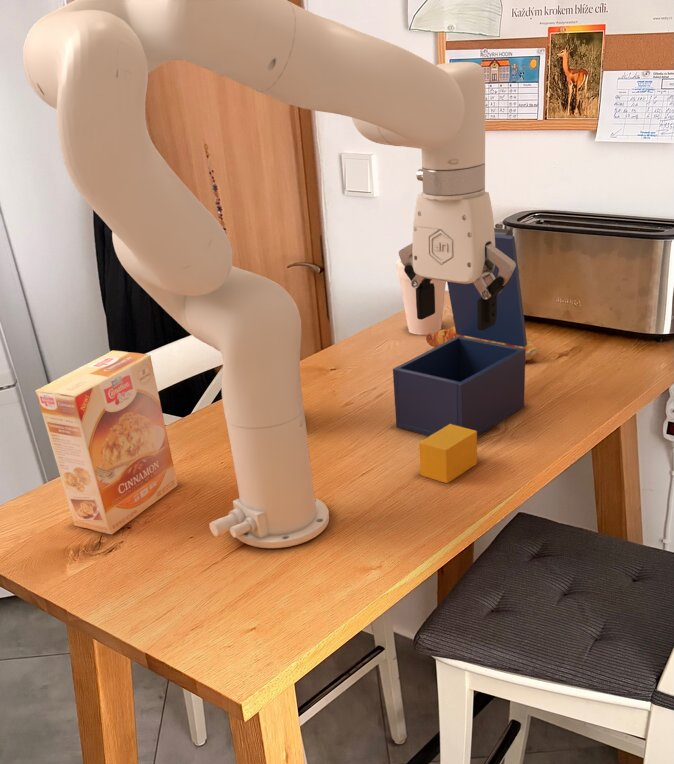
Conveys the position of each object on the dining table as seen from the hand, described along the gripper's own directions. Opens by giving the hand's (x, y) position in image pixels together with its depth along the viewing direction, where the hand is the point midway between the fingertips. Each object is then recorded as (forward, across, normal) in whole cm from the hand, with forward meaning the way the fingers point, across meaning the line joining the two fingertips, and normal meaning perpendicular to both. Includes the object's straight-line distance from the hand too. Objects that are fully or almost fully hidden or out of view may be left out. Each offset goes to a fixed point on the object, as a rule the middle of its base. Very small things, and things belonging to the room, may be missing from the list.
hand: (455, 321), depth 120 cm
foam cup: (+19, -37, +41) cm, 59 cm away
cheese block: (+19, +2, -5) cm, 20 cm away
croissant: (+19, -19, +34) cm, 43 cm away
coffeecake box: (+20, -30, -37) cm, 51 cm away
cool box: (+19, -7, +11) cm, 23 cm away
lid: (+1, -7, +16) cm, 18 cm away
